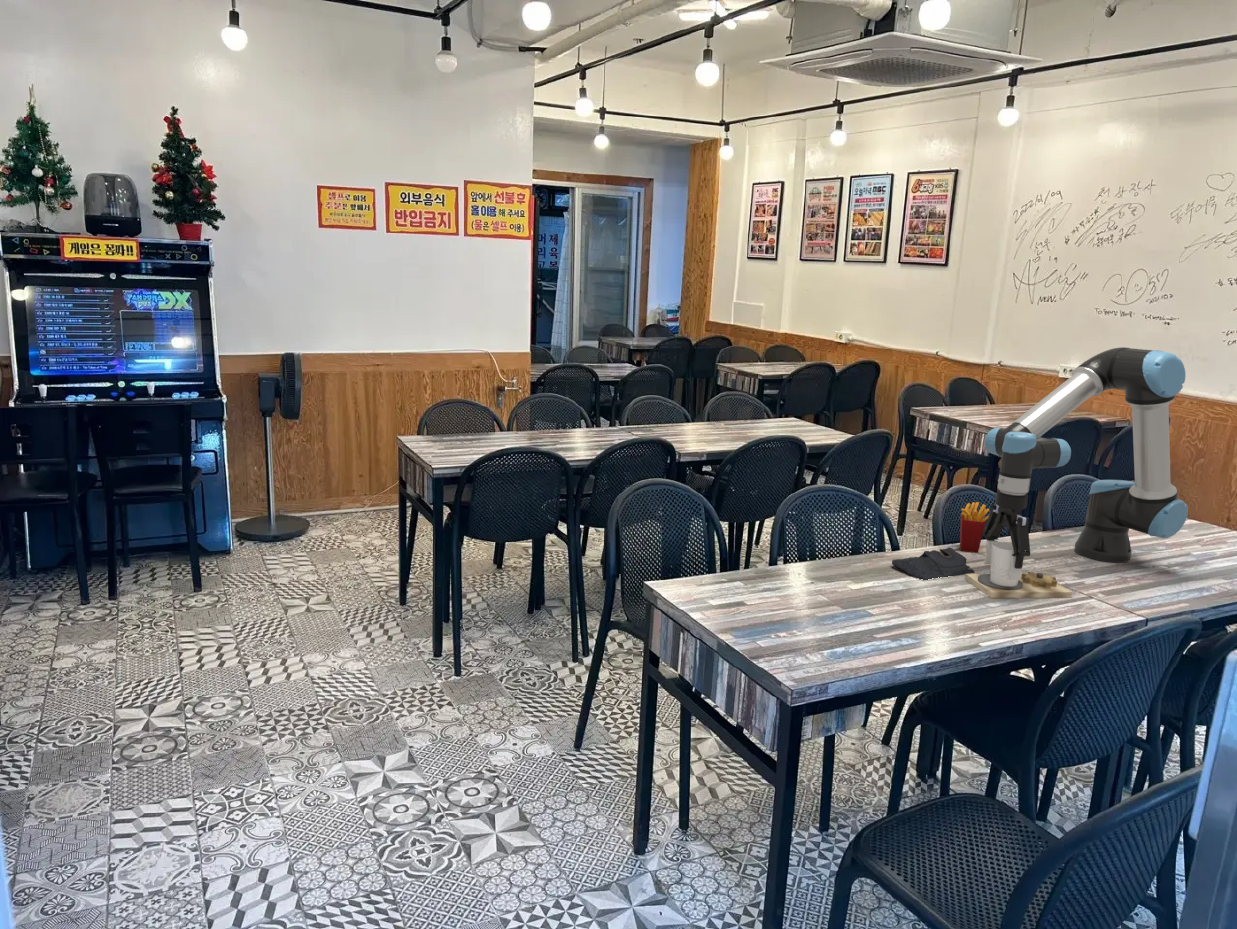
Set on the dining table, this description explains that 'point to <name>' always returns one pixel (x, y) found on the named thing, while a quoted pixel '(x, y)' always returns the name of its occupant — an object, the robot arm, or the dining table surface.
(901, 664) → the dining table surface
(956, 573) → the dark slate chunk
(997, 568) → the white cup
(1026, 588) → the gear board
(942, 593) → the dining table surface
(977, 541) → the french fries
